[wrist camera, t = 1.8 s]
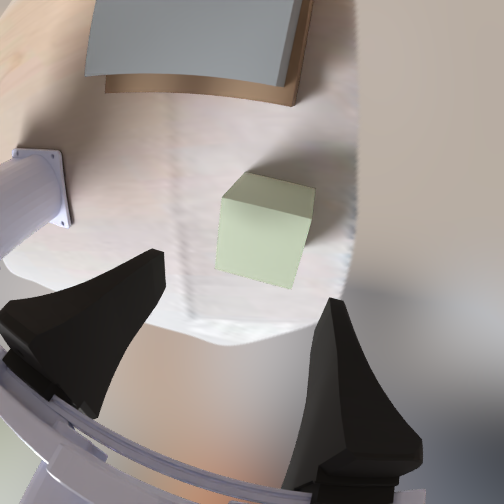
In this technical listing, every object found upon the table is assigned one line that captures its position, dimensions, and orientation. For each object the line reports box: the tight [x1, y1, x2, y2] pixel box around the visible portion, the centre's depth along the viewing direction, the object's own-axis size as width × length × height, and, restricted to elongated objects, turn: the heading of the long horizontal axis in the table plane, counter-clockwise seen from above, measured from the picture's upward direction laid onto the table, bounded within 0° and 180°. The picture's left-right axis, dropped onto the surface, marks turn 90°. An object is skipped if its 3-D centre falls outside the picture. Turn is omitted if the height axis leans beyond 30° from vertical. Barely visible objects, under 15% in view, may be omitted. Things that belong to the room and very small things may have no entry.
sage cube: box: [215, 172, 315, 289], centre depth 17 cm, size 4×4×4 cm
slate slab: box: [85, 0, 302, 87], centre depth 10 cm, size 11×8×2 cm
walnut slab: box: [105, 0, 313, 107], centre depth 12 cm, size 12×10×2 cm
